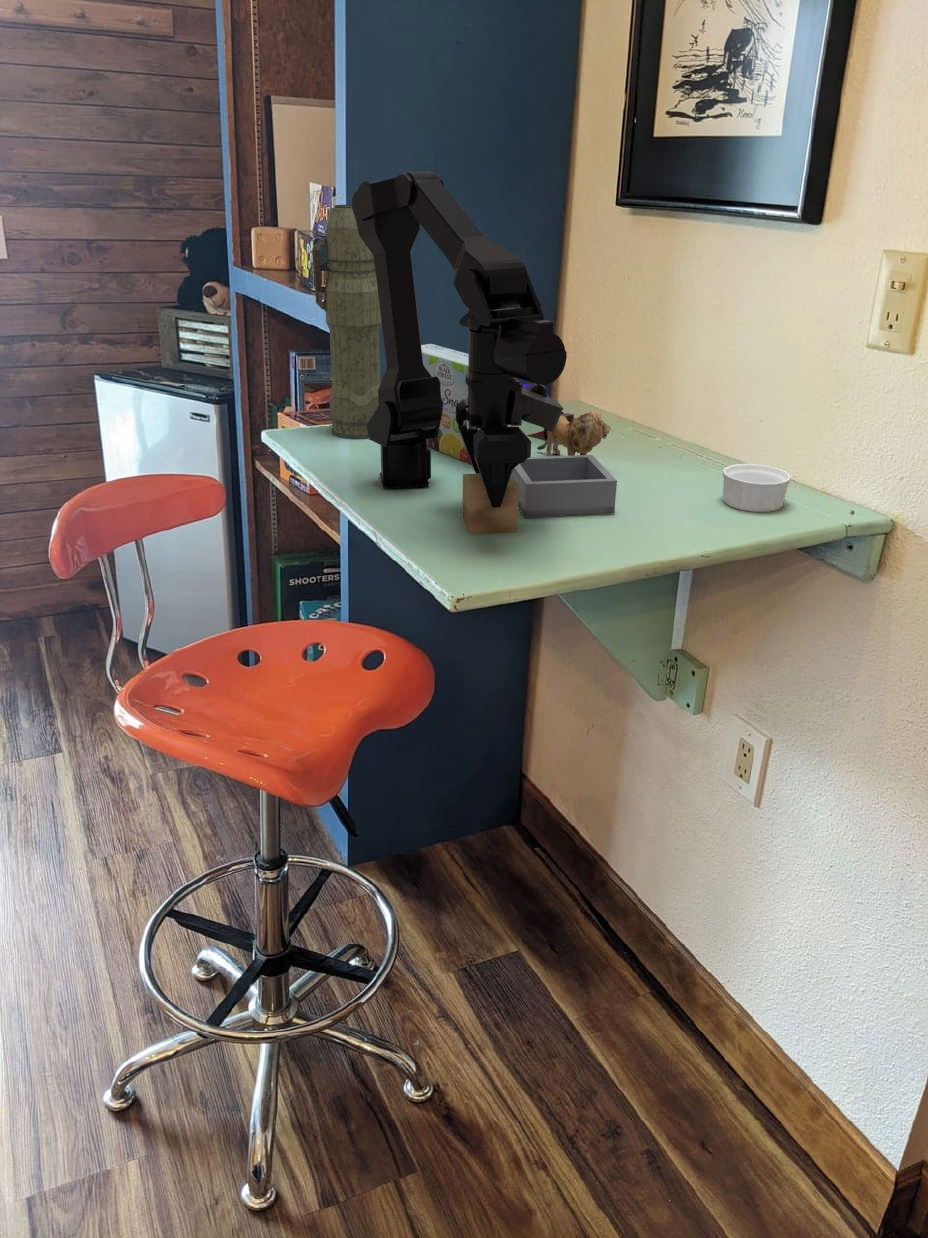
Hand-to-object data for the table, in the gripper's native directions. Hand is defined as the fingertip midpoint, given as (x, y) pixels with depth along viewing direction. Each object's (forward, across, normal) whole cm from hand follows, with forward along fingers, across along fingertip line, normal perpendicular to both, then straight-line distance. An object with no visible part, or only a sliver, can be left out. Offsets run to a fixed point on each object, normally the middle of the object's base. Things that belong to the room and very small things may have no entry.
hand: (489, 495), depth 126 cm
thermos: (+4, +47, +14) cm, 49 cm away
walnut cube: (+4, 0, 0) cm, 4 cm away
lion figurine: (+4, +25, -17) cm, 30 cm away
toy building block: (+4, +57, -18) cm, 60 cm away
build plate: (+5, +39, -18) cm, 44 cm away
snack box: (+4, +33, -1) cm, 33 cm away
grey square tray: (+4, +8, -11) cm, 14 cm away
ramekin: (+4, +4, -37) cm, 37 cm away
